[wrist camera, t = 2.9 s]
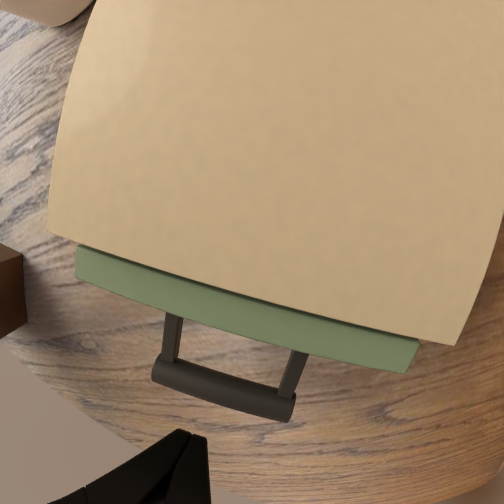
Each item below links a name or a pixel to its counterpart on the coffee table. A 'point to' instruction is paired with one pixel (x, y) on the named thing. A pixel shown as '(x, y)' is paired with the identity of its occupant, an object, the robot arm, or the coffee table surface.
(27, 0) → the can
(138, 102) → the cabinet
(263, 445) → the coffee table surface
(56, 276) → the coffee table surface
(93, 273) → the drawer
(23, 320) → the brown cube
